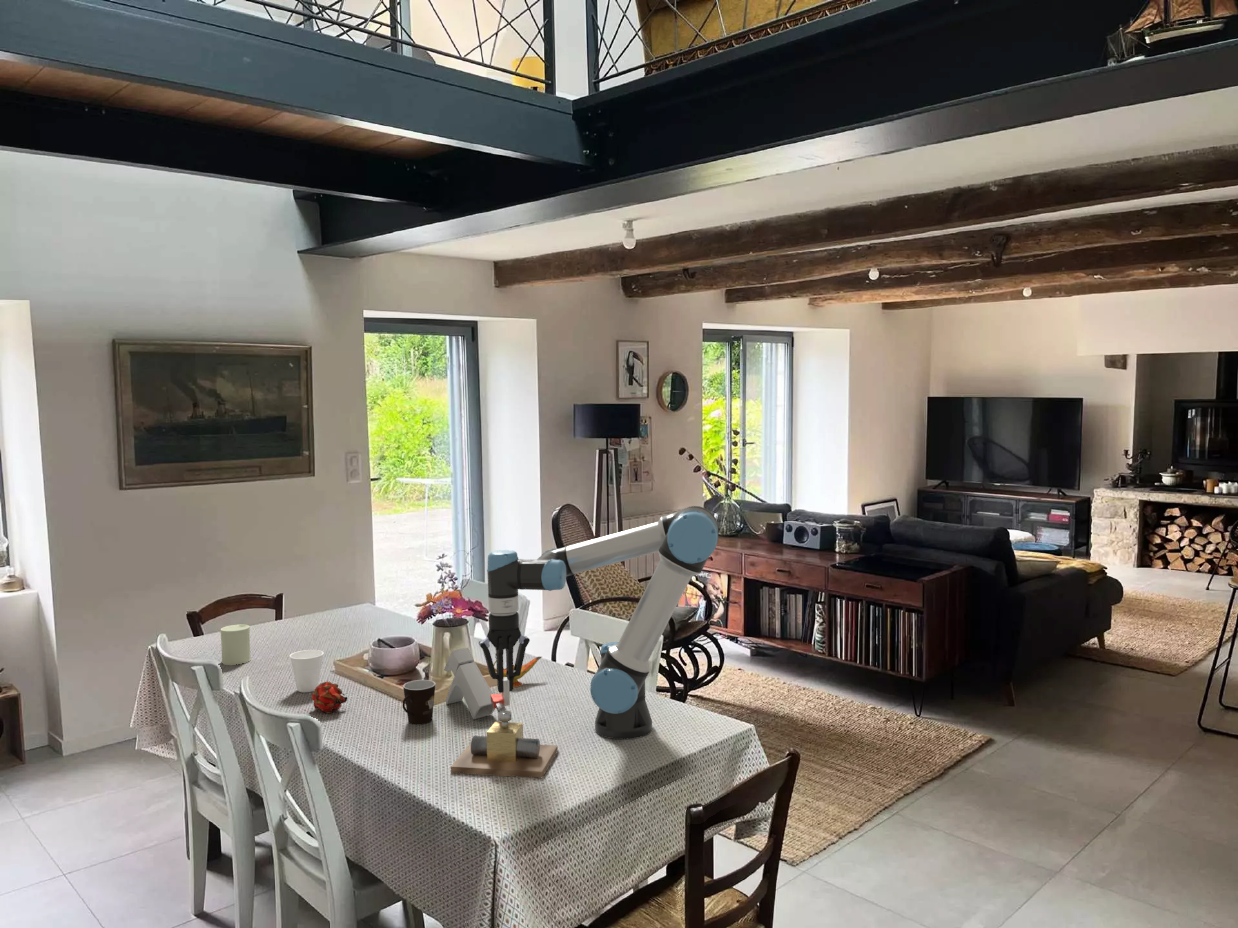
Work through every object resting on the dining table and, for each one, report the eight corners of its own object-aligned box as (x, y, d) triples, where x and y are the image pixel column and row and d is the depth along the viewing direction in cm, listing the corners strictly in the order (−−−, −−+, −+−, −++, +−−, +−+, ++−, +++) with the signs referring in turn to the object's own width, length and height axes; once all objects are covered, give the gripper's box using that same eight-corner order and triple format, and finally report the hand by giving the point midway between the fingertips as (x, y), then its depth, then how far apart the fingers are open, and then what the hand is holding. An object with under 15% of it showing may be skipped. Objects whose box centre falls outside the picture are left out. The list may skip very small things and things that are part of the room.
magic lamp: (548, 679, 284) (548, 645, 283) (499, 692, 272) (498, 656, 271) (536, 674, 289) (535, 640, 288) (487, 686, 278) (486, 651, 277)
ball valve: (541, 751, 223) (540, 716, 222) (534, 763, 216) (533, 726, 215) (478, 748, 225) (477, 713, 224) (469, 759, 218) (468, 723, 218)
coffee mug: (425, 712, 255) (424, 677, 255) (442, 720, 249) (441, 684, 248) (388, 723, 247) (387, 687, 246) (405, 731, 241) (404, 694, 240)
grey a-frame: (478, 706, 246) (450, 648, 257) (461, 740, 255) (434, 683, 266) (499, 701, 250) (469, 644, 261) (480, 735, 259) (453, 679, 270)
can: (257, 659, 309) (255, 625, 308) (232, 666, 301) (231, 631, 300) (240, 655, 314) (238, 621, 313) (215, 662, 306) (214, 627, 305)
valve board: (557, 751, 227) (557, 745, 227) (542, 777, 211) (541, 771, 211) (472, 746, 230) (472, 740, 230) (450, 772, 214) (450, 766, 214)
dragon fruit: (320, 708, 264) (340, 725, 256) (298, 698, 258) (317, 714, 250) (337, 682, 266) (357, 698, 258) (315, 671, 261) (335, 687, 252)
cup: (305, 696, 270) (304, 660, 269) (283, 691, 275) (282, 655, 274) (332, 687, 278) (330, 652, 277) (310, 682, 283) (309, 647, 283)
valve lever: (512, 721, 219) (512, 713, 218) (499, 722, 218) (499, 715, 218) (502, 700, 234) (501, 693, 234) (489, 701, 233) (489, 694, 233)
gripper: (481, 618, 223) (483, 712, 225) (532, 613, 228) (534, 705, 230) (474, 611, 230) (477, 702, 232) (524, 606, 235) (526, 696, 237)
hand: (505, 703), depth 231 cm, fingers closed
